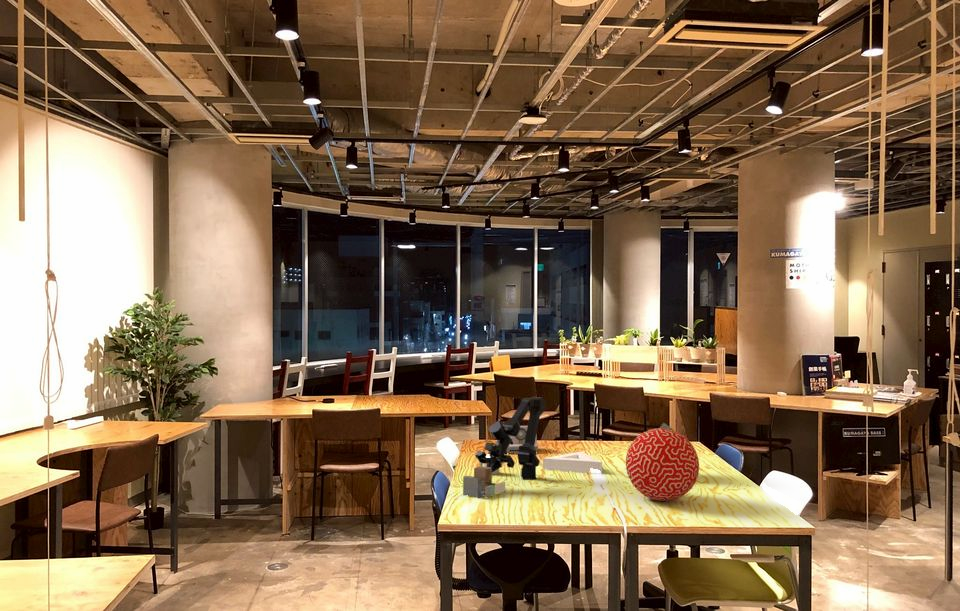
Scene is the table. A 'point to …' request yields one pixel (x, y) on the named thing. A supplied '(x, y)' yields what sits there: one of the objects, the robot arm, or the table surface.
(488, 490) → the gauge base
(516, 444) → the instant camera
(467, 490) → the grey square slab
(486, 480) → the gauge carriage
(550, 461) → the triangular ruler
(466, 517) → the table surface
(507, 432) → the robot arm
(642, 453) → the ball
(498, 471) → the cup
